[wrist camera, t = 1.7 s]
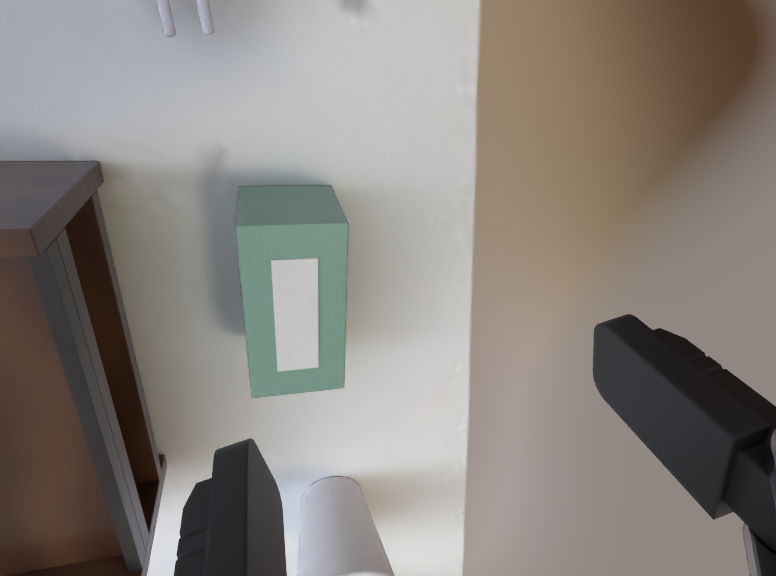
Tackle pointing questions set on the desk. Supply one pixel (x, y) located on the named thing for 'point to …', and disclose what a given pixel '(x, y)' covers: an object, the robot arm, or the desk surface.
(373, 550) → the dixie cup
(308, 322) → the tissue box
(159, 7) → the charger
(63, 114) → the desk surface
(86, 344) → the box
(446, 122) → the desk surface
